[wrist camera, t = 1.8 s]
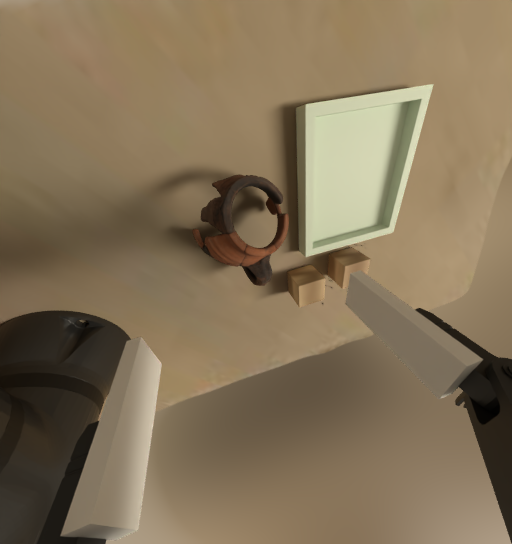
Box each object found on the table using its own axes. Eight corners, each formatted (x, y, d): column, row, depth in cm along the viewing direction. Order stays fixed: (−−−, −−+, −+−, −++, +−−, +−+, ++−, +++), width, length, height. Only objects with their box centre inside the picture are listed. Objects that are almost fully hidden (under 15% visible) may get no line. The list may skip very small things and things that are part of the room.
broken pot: (167, 211, 21) (188, 192, 14) (233, 176, 25) (275, 148, 18) (225, 295, 26) (262, 312, 19) (273, 255, 29) (318, 257, 23)
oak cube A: (288, 291, 32) (299, 307, 29) (286, 271, 30) (298, 286, 26) (310, 284, 32) (323, 299, 29) (311, 264, 30) (325, 278, 27)
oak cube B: (327, 274, 32) (342, 288, 29) (328, 253, 30) (345, 266, 27) (348, 268, 33) (365, 281, 30) (351, 247, 31) (370, 258, 27)
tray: (299, 250, 28) (305, 257, 27) (295, 107, 19) (305, 104, 18) (382, 227, 30) (393, 232, 29) (414, 89, 21) (433, 84, 20)
